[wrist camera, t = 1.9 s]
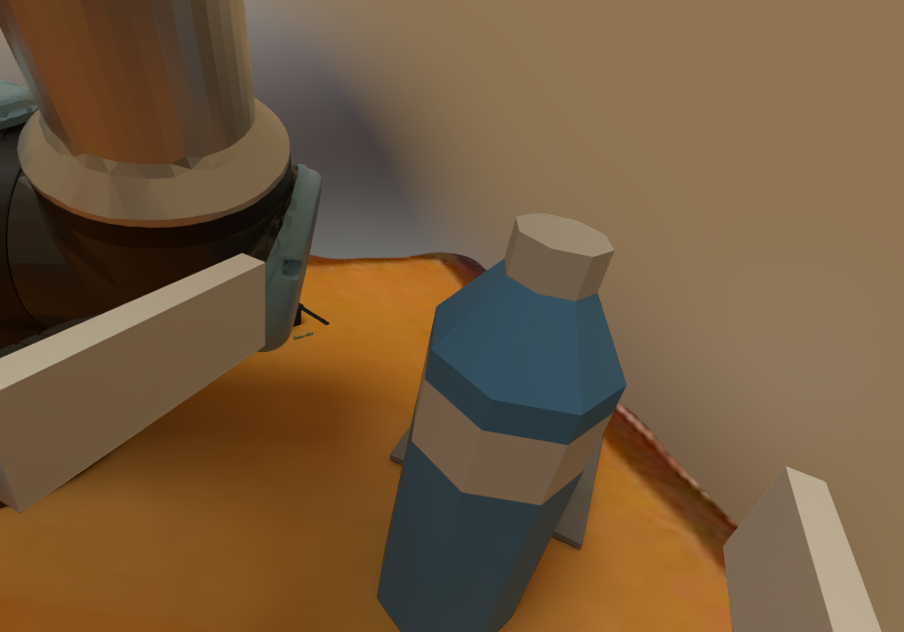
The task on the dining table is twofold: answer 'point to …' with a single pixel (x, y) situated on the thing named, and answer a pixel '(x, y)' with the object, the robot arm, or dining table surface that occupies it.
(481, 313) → the water bottle
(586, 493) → the mat
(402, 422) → the dining table surface
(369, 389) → the dining table surface
